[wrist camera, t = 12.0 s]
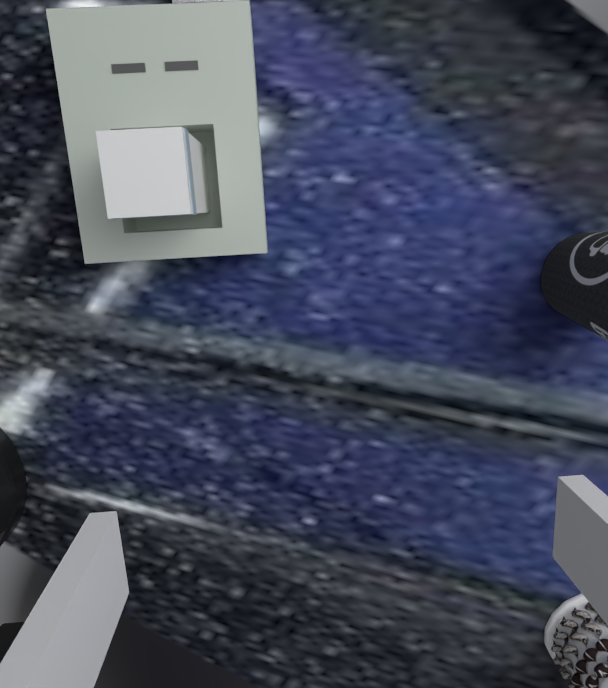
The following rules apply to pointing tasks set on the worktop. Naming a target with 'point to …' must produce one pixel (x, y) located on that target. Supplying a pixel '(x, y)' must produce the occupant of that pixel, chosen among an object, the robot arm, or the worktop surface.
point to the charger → (153, 173)
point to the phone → (199, 0)
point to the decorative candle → (578, 643)
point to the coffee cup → (579, 280)
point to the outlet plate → (163, 119)
